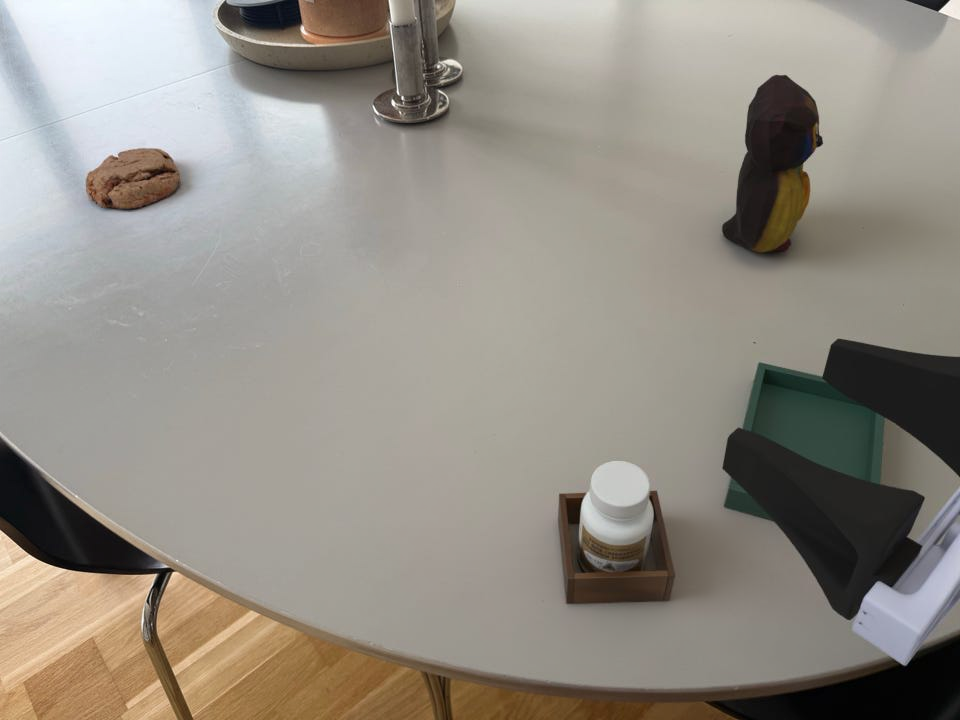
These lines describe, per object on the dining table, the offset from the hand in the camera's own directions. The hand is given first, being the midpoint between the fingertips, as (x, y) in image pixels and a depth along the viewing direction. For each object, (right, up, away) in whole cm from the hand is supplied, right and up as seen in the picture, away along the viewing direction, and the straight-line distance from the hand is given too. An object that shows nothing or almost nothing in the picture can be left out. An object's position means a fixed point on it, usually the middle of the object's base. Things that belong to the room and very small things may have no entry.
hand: (782, 401), depth 35 cm
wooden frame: (-4, -11, +18) cm, 22 cm away
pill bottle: (-4, -11, +18) cm, 22 cm away
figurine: (+14, +13, +43) cm, 47 cm away
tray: (+10, -5, +24) cm, 26 cm away
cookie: (-51, +21, +55) cm, 78 cm away
